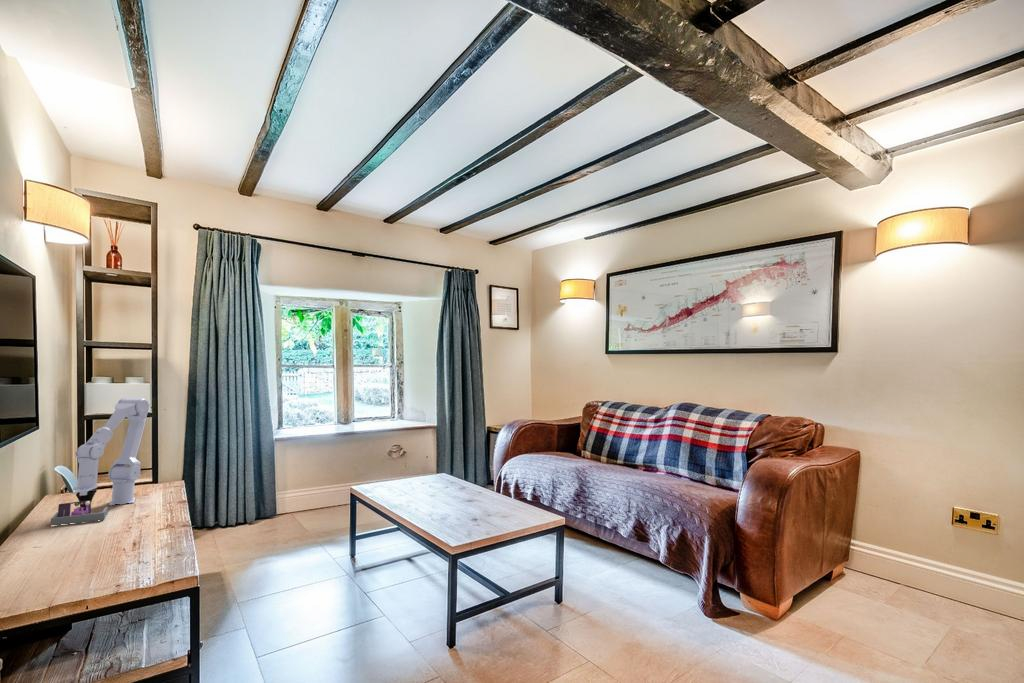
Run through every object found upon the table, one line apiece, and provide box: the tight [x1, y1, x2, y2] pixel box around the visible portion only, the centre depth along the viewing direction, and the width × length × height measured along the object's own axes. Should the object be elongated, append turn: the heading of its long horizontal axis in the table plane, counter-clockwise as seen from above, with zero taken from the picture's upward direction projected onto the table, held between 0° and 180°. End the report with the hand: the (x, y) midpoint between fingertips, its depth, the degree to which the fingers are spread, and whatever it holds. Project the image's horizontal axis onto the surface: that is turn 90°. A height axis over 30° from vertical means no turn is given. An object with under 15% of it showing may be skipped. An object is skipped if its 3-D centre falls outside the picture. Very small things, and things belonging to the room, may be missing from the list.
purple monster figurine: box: [57, 500, 92, 517], centre depth 178 cm, size 7×5×9 cm
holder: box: [49, 506, 109, 527], centre depth 176 cm, size 9×15×3 cm, turn 124°
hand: (85, 510), depth 183 cm, fingers closed
